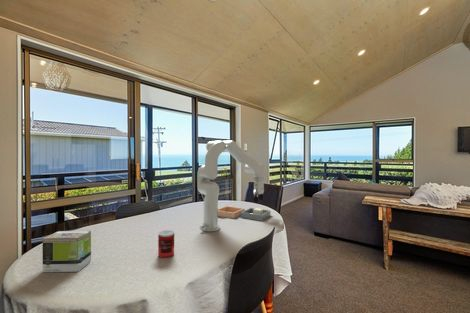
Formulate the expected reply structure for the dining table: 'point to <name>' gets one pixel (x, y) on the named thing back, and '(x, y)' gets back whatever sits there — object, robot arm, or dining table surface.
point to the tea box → (66, 251)
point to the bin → (247, 214)
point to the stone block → (258, 211)
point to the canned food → (166, 243)
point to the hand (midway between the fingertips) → (258, 200)
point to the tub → (230, 212)
